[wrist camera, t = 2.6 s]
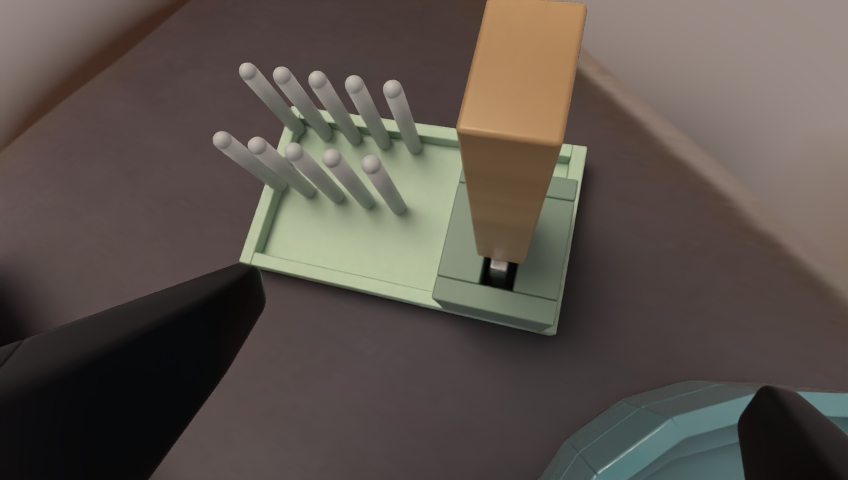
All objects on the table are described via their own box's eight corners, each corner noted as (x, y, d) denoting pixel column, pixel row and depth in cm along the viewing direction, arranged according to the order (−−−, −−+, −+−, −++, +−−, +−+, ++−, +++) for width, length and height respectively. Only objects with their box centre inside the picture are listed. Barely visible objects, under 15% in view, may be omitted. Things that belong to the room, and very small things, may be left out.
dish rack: (551, 336, 18) (577, 327, 12) (255, 268, 21) (166, 236, 15) (580, 161, 20) (615, 83, 14) (304, 121, 23) (240, 43, 17)
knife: (513, 298, 18) (558, 167, 5) (480, 291, 18) (449, 151, 6) (526, 234, 18) (593, -18, 6) (493, 228, 19) (491, -24, 6)
